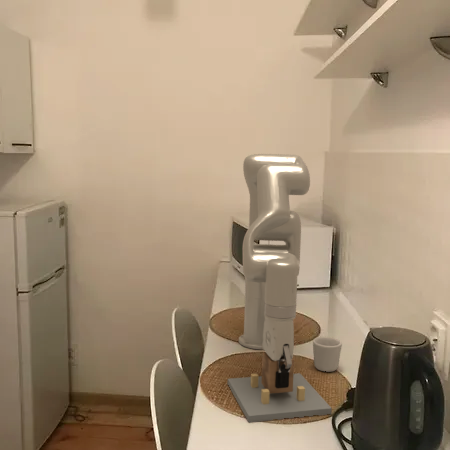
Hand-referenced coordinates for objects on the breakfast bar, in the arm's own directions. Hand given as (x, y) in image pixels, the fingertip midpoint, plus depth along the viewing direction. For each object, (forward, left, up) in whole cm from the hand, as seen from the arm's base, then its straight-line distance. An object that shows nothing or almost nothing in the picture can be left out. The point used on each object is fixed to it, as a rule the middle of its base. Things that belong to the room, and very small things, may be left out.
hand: (277, 380), depth 130 cm
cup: (-16, +21, -5) cm, 27 cm away
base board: (0, 0, -5) cm, 5 cm away
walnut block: (0, 0, -2) cm, 2 cm away
